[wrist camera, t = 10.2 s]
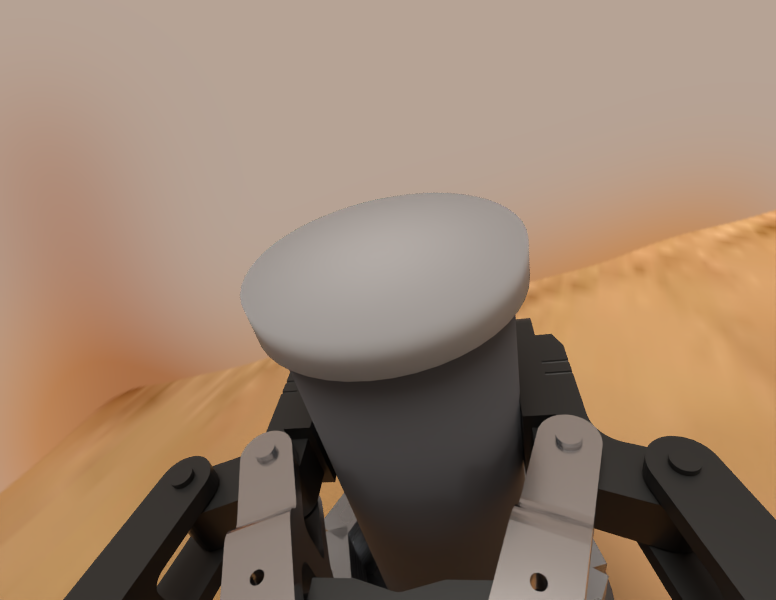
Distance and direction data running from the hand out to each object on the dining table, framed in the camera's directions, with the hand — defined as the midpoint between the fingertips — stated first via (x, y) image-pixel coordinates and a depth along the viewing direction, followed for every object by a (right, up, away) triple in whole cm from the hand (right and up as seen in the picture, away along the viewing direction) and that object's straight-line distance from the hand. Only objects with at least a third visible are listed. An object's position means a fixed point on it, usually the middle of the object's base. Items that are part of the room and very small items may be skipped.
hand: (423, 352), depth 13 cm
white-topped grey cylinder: (+1, -7, +2) cm, 7 cm away
